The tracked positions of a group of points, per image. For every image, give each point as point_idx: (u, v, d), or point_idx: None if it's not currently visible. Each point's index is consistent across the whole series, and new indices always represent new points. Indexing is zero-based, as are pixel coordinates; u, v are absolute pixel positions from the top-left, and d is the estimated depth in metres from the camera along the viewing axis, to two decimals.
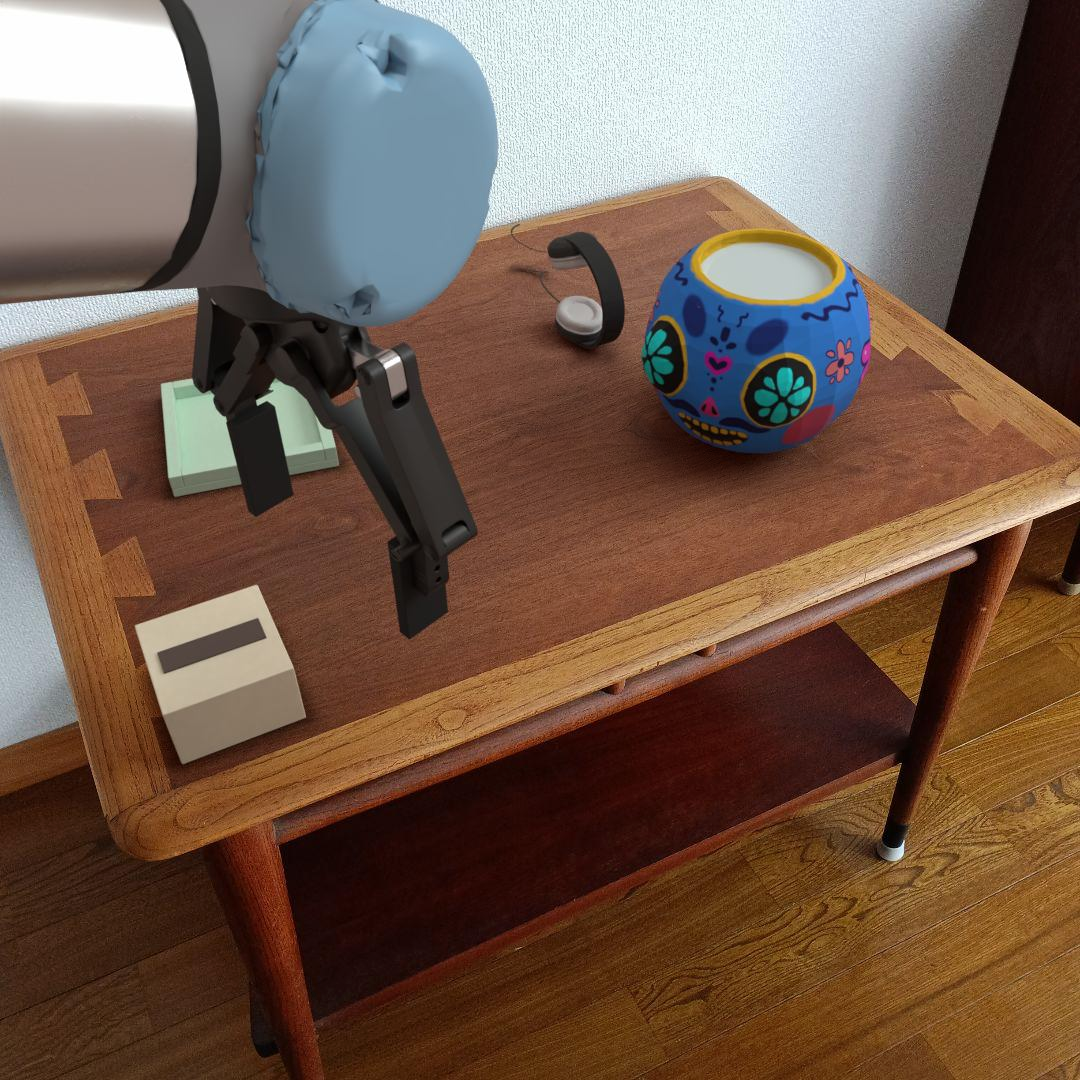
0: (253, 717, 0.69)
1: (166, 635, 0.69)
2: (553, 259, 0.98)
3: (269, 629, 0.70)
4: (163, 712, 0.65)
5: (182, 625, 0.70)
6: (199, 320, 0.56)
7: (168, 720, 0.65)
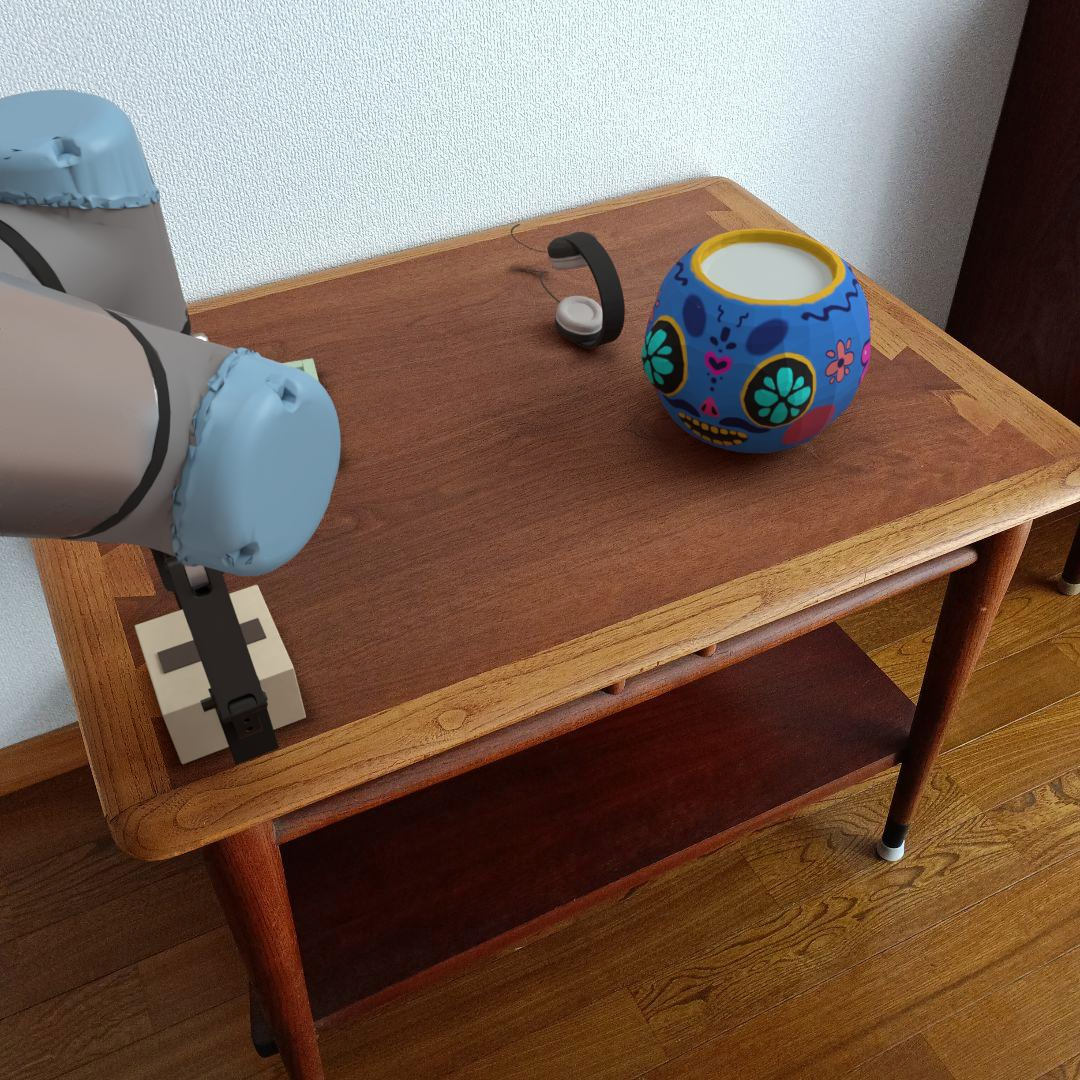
0: None
1: (166, 635, 0.69)
2: (553, 259, 0.98)
3: (269, 629, 0.70)
4: (163, 712, 0.65)
5: (182, 625, 0.70)
6: None
7: (168, 720, 0.65)
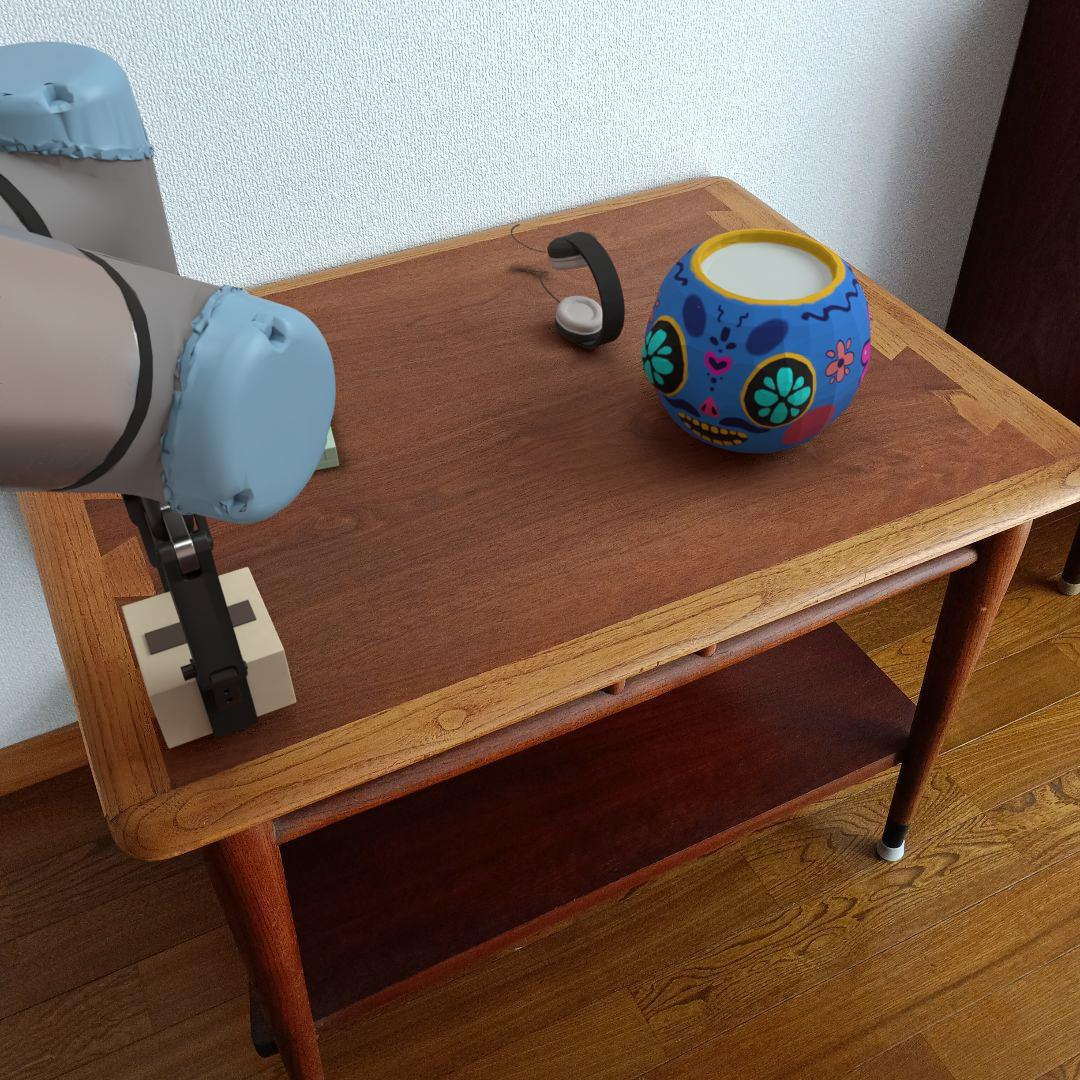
0: None
1: (153, 616, 0.68)
2: (553, 259, 0.98)
3: (260, 611, 0.68)
4: (149, 693, 0.63)
5: (170, 606, 0.69)
6: None
7: (154, 701, 0.64)
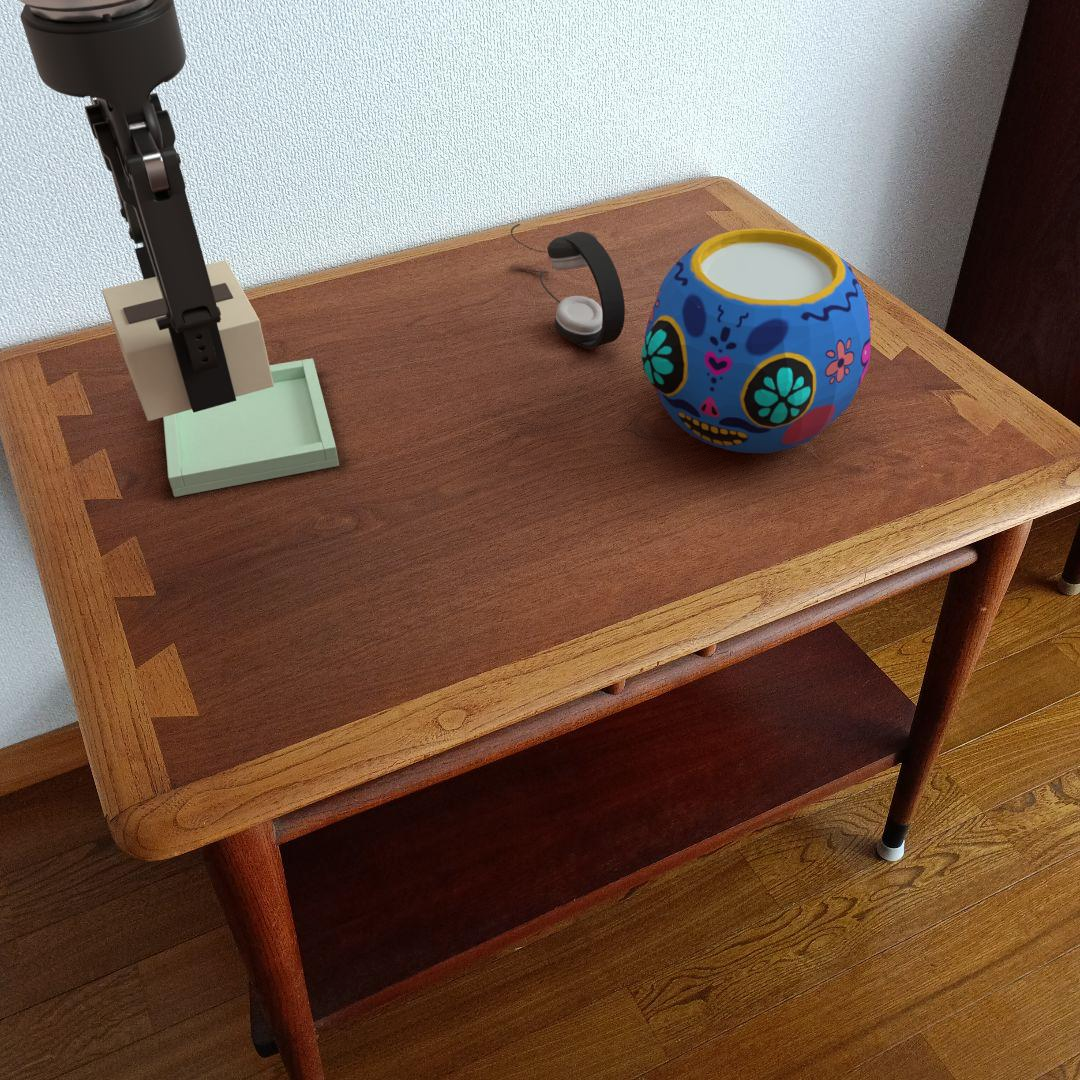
0: None
1: (132, 296, 0.69)
2: (553, 259, 0.98)
3: (236, 292, 0.69)
4: (127, 352, 0.65)
5: (149, 289, 0.70)
6: None
7: (131, 361, 0.65)
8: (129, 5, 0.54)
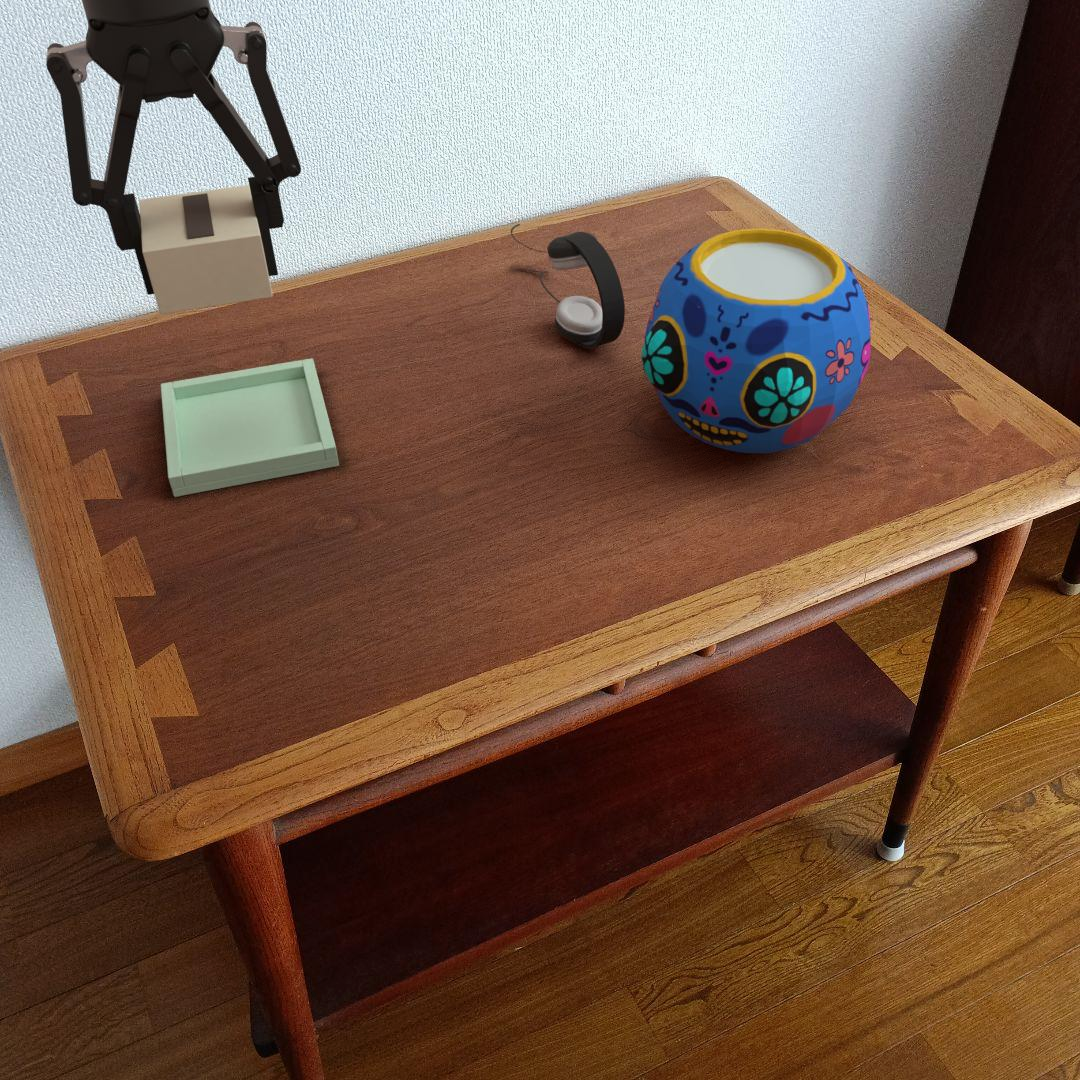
0: None
1: (168, 236, 0.77)
2: (553, 259, 0.98)
3: (198, 193, 0.82)
4: (257, 234, 0.77)
5: (161, 230, 0.78)
6: (67, 120, 0.71)
7: (261, 240, 0.78)
8: None
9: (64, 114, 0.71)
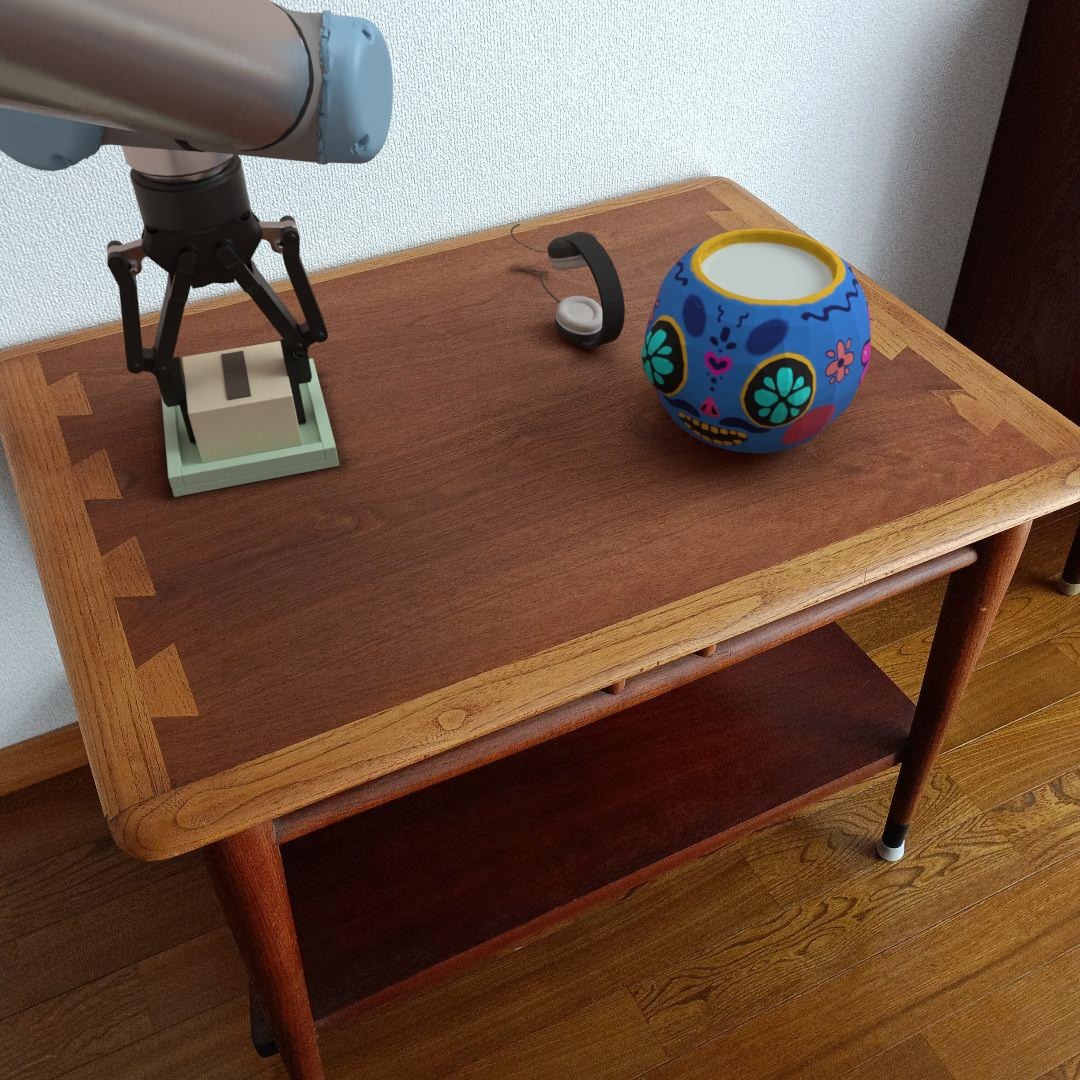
0: None
1: (210, 397, 0.86)
2: (553, 259, 0.98)
3: (235, 350, 0.91)
4: (289, 395, 0.87)
5: (204, 390, 0.87)
6: (124, 306, 0.81)
7: None
8: None
9: (121, 301, 0.80)
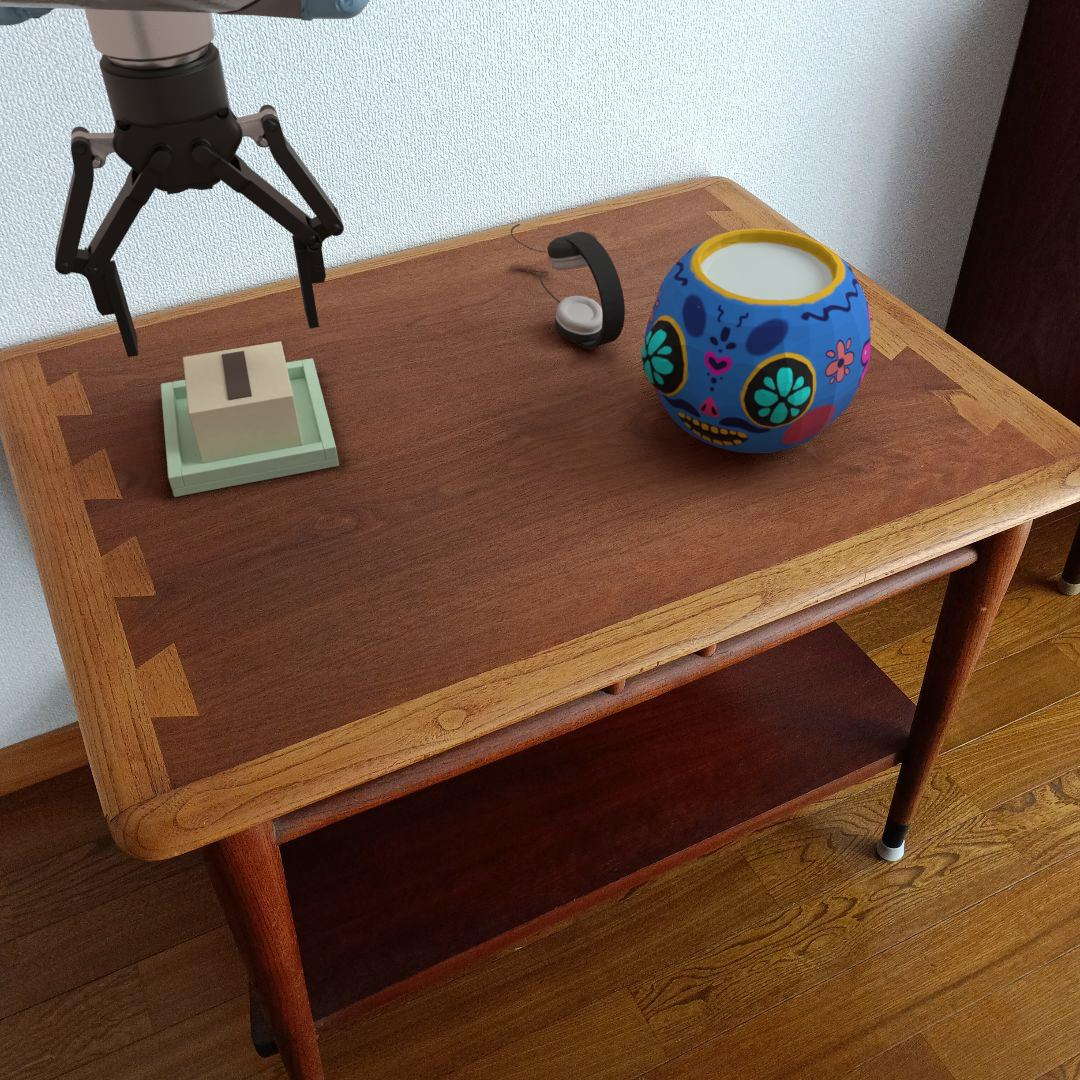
0: None
1: (211, 397, 0.86)
2: (553, 259, 0.98)
3: (236, 350, 0.91)
4: (290, 395, 0.87)
5: (204, 390, 0.87)
6: (74, 197, 0.74)
7: None
8: None
9: (73, 191, 0.74)
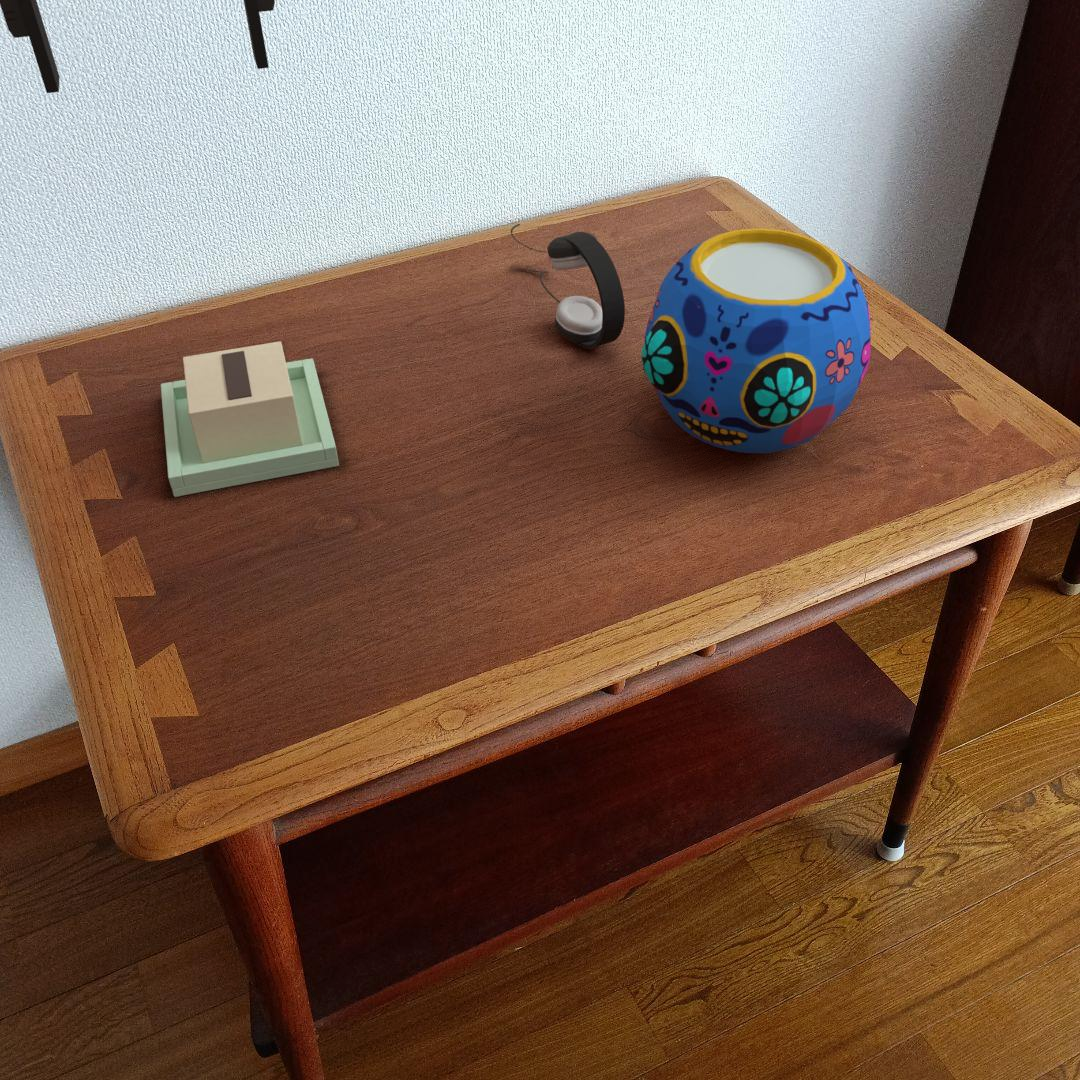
0: None
1: (211, 397, 0.86)
2: (553, 259, 0.98)
3: (236, 350, 0.91)
4: (290, 395, 0.87)
5: (204, 390, 0.87)
6: None
7: None
8: None
9: None
